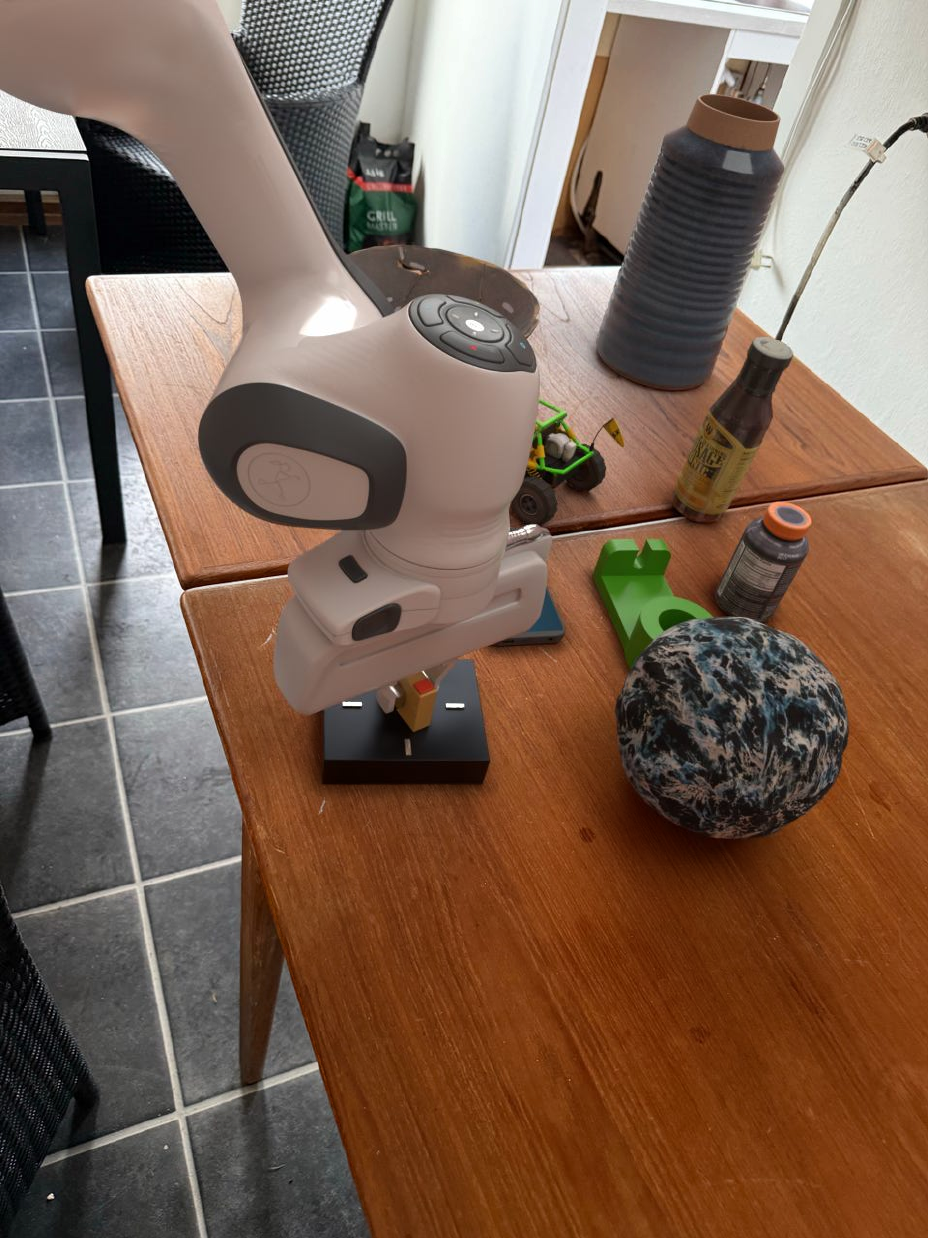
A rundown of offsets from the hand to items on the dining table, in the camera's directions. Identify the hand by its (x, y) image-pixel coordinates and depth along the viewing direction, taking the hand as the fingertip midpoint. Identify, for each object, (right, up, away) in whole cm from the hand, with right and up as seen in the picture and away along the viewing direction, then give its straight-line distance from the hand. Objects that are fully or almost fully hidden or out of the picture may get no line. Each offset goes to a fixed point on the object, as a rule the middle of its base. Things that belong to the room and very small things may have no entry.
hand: (406, 697), depth 65 cm
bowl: (0, +37, +44) cm, 58 cm away
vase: (+30, +41, +55) cm, 75 cm away
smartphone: (+8, +9, +17) cm, 21 cm away
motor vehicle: (+9, +21, +30) cm, 38 cm away
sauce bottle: (+30, +18, +32) cm, 47 cm away
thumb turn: (0, -1, +1) cm, 1 cm away
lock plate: (-1, -3, +3) cm, 4 cm away
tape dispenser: (+21, +5, +16) cm, 27 cm away
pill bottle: (+32, +7, +21) cm, 39 cm away
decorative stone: (+22, -7, +4) cm, 24 cm away
